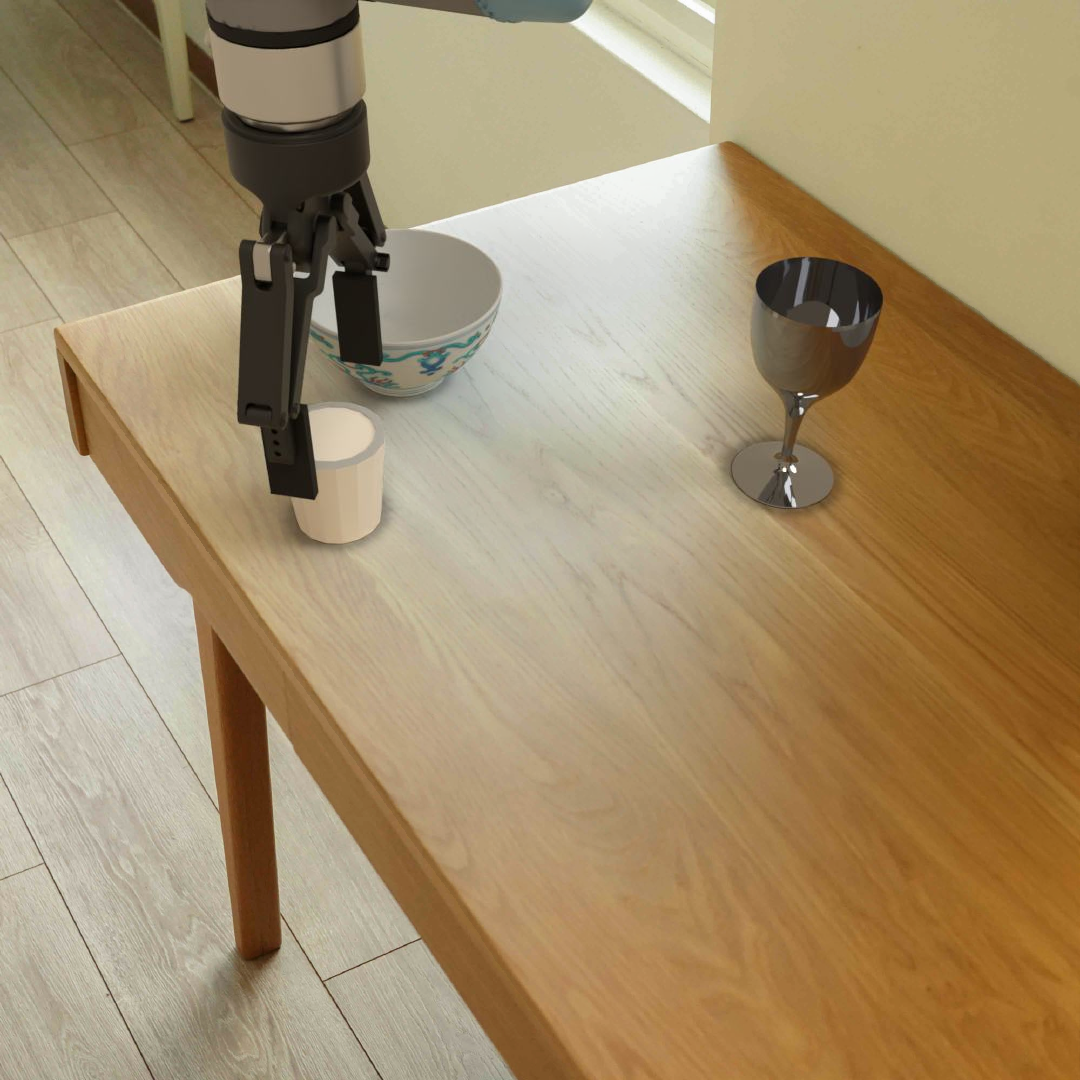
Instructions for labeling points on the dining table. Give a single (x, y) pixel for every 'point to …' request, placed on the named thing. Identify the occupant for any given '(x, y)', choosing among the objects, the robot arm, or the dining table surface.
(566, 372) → the dining table surface
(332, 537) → the shot glass
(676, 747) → the dining table surface
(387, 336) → the chinaware
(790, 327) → the wine glass
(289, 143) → the robot arm
